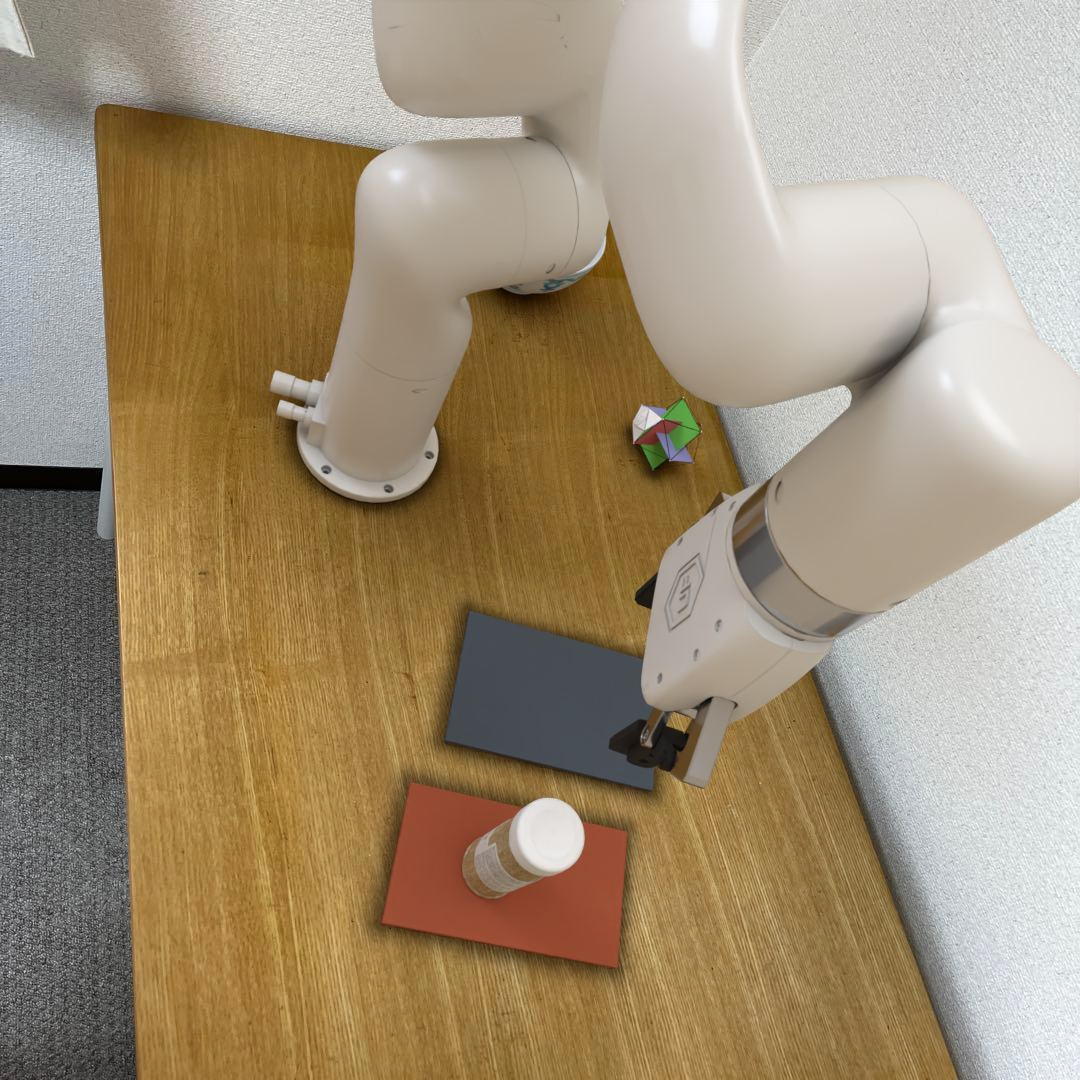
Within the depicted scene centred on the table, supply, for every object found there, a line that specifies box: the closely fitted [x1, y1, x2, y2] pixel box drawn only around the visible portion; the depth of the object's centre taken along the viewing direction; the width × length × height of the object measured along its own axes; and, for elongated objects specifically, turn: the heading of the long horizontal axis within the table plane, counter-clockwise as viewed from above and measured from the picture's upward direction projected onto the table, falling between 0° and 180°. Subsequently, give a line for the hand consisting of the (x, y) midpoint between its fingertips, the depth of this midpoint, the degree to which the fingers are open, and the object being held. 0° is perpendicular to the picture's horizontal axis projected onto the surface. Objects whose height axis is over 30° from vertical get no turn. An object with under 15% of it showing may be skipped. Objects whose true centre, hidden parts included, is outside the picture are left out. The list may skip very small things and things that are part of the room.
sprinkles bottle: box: [462, 797, 585, 899], centre depth 61 cm, size 5×5×13 cm
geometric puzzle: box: [631, 396, 703, 471], centre depth 90 cm, size 7×7×8 cm
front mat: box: [380, 782, 628, 969], centre depth 67 cm, size 18×10×1 cm, turn 82°
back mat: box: [443, 610, 655, 793], centre depth 75 cm, size 18×12×1 cm, turn 82°
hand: (644, 675), depth 54 cm, fingers open, 9 cm apart
